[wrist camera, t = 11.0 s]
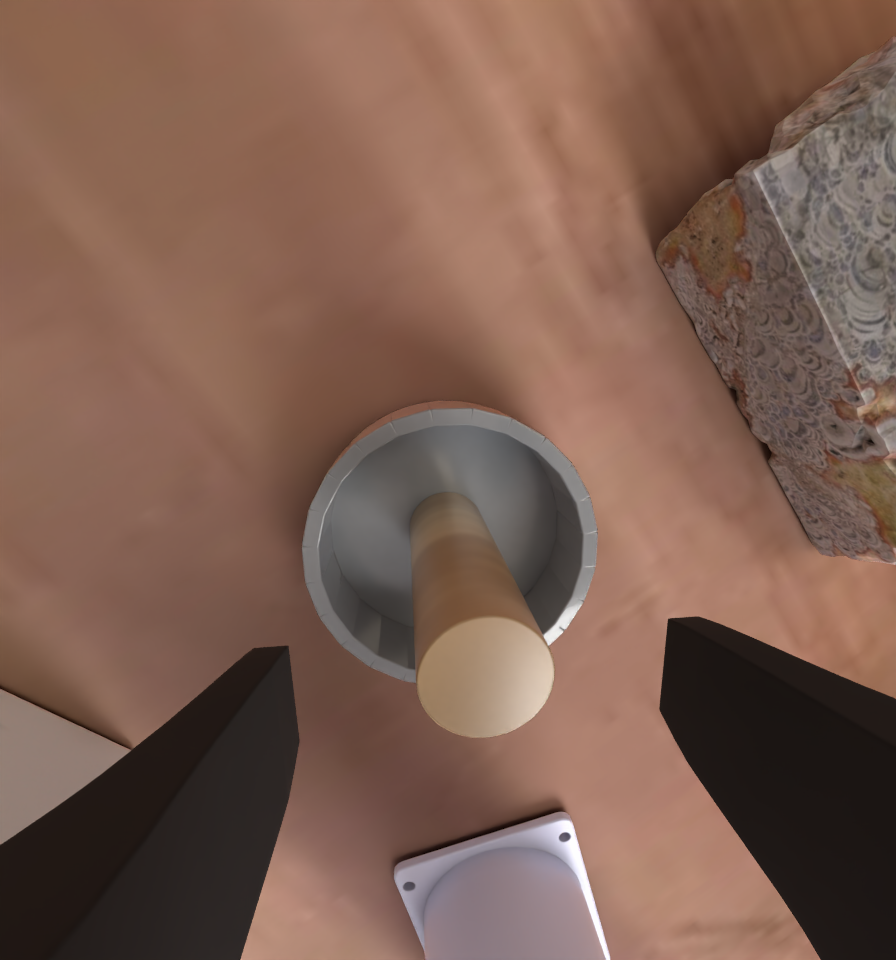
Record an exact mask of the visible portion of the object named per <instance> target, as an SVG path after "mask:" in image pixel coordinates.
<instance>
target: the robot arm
mask: <svg viewBox="0 0 896 960" xmlns="http://www.w3.org/2000/svg"><path fill="white" fill-rule="evenodd" d="M659 710H660V712H661V714H662V716H663V718H664V719H665V721H666V723H667V725H668V727H669V729H670V731H671V733H672V735H673V737H674V739H675V741H676V742H677V744H678V746H679V748H680V750H681V751H682V753H683V755H684V757H685V759H686V760H687V762H688V764H689V765H690V767H691V768H692V770H693V771H694V773H695V774H696V776H697V777H698V778H699V780H700V781H701V783H702V784H703V786H704V787H705V789H706V790H707V791H708V793H709V794H710V796H711V797H712V799H713V800H714V802H715V803H716V804H717V806H718V807H719V809H720V810H721V812H722V813H723V814H724V816H725V817H726V819H727V820H728V822H729V823H730V824H731V826H732V827H733V829H734V830H735V831H736V833H737V834H738V836H739V837H740V839H741V840H742V841H743V843H744V844H745V846H746V847H747V849H748V850H749V851H750V853H751V854H752V856H753V857H754V858H755V860H756V861H757V863H758V864H759V866H760V867H761V868H762V870H763V871H764V873H765V874H766V876H767V877H768V878H769V880H770V881H771V883H772V884H773V886H774V887H775V888H776V890H777V891H778V893H779V894H780V896H781V897H782V899H783V900H784V902H785V903H786V905H787V906H788V908H789V909H790V911H791V912H792V914H793V915H794V917H795V918H796V920H797V921H798V923H799V924H800V926H801V927H802V929H803V931H804V932H805V934H806V935H807V937H808V939H809V940H810V942H811V944H812V946H813V947H814V949H815V951H816V952H817V954H818V956H819V957H820V959H821V960H896V699H895V698H893V697H890V696H888V695H885V694H883V693H880V692H878V691H875V690H873V689H870V688H868V687H865V686H863V685H860V684H858V683H856V682H853V681H851V680H848V679H846V678H844V677H841V676H839V675H836V674H834V673H832V672H830V671H827V670H825V669H823V668H820V667H818V666H816V665H813V664H811V663H809V662H806V661H804V660H802V659H800V658H797V657H795V656H793V655H791V654H788V653H786V652H784V651H782V650H779V649H777V648H775V647H772V646H770V645H768V644H766V643H763V642H761V641H759V640H757V639H754V638H752V637H750V636H747V635H745V634H743V633H740V632H738V631H736V630H733V629H731V628H728V627H726V626H723V625H721V624H718V623H716V622H713V621H710V620H707V619H704V618H701V617H685V618H670V619H668V625H667V635H666V646H665V656H664V667H663V677H662V688H661V698H660V708H659ZM298 746H299V733H298V724H297V716H296V707H295V699H294V690H293V681H292V673H291V664H290V655H289V647H288V646H277V647H263V648H254V649H252V650H251V651H250V652H248V653H247V654H246V655H245V656H243V657H242V658H241V659H240V660H239V661H238V662H236V663H235V664H234V665H233V666H232V667H231V668H229V669H228V670H227V671H226V672H225V673H224V674H222V675H221V676H220V677H219V678H218V679H217V680H216V681H214V682H213V683H212V684H211V685H210V686H209V687H208V688H206V689H205V690H204V691H203V692H202V693H201V694H199V695H198V696H197V697H196V698H195V699H194V700H192V701H191V702H190V703H189V704H188V705H186V706H185V707H184V708H183V709H182V710H181V711H179V712H178V713H177V714H176V715H175V716H174V717H172V718H171V719H170V720H169V721H168V722H166V723H165V724H164V725H163V726H162V727H160V728H159V729H158V730H156V731H155V732H154V733H153V734H151V735H150V736H149V737H148V738H146V739H145V740H144V741H143V742H141V743H140V744H139V745H137V746H136V747H135V748H134V749H132V750H131V751H130V752H129V753H127V754H126V755H125V756H123V757H122V758H121V759H120V760H118V761H117V762H116V763H115V764H113V765H112V766H111V767H110V768H108V769H107V770H106V771H104V772H103V773H102V774H101V775H99V776H98V777H97V778H95V779H94V780H93V781H91V782H90V783H88V784H87V785H86V786H84V787H83V788H82V789H80V790H79V791H78V792H76V793H75V794H73V795H72V796H71V797H69V798H68V799H66V800H65V801H64V802H62V803H61V804H59V805H58V806H57V807H55V808H54V809H52V810H51V811H49V812H48V813H46V814H45V815H43V816H42V817H41V818H39V819H38V820H36V821H35V822H33V823H32V824H30V825H29V826H27V827H26V828H24V829H23V830H22V831H20V832H19V833H17V834H16V835H14V836H13V837H11V838H10V839H8V840H7V841H5V842H4V843H2V844H1V845H0V960H240V959H241V956H242V952H243V949H244V946H245V942H246V939H247V936H248V933H249V929H250V926H251V923H252V919H253V916H254V913H255V910H256V906H257V903H258V900H259V897H260V893H261V890H262V887H263V883H264V880H265V877H266V874H267V870H268V867H269V864H270V861H271V857H272V854H273V851H274V847H275V844H276V841H277V837H278V834H279V831H280V827H281V824H282V821H283V817H284V814H285V810H286V807H287V803H288V800H289V795H290V790H291V785H292V779H293V774H294V769H295V763H296V757H297V752H298ZM563 832H564V833H563ZM394 880H395V883H396V885H397V888H398V890H399V892H400V895H401V897H402V899H403V902H404V904H405V907H406V909H407V911H408V914H409V916H410V918H411V921H412V923H413V926H414V928H415V930H416V933H417V935H418V937H419V940H420V942H421V944H422V947H423V949H424V952H425V960H610V955H609V951H608V948H607V944H606V941H605V937H604V933H603V930H602V926H601V923H600V919H599V916H598V912H597V908H596V905H595V901H594V898H593V894H592V890H591V887H590V883H589V880H588V876H587V873H586V869H585V865H584V862H583V858H582V855H581V851H580V847H579V844H578V840H577V837H576V833H575V830H574V826H573V823H572V820H571V817H570V816H569V814H567V813H566V812H556V813H553V814H550V815H547V816H543V817H540V818H537V819H534V820H531V821H528V822H524V823H521V824H518V825H515V826H512V827H509V828H505V829H502V830H499V831H496V832H493V833H490V834H487V835H483V836H480V837H477V838H474V839H471V840H468V841H464V842H461V843H458V844H455V845H452V846H449V847H445V848H442V849H439V850H436V851H433V852H430V853H426V854H423V855H420V856H417V857H414V858H411V859H408V860H404V861H402V862H400V863H398V864H397V865H396V866H395V869H394Z"/></svg>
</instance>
